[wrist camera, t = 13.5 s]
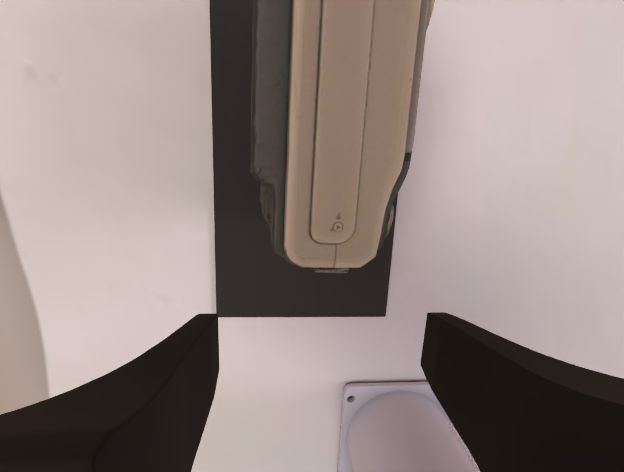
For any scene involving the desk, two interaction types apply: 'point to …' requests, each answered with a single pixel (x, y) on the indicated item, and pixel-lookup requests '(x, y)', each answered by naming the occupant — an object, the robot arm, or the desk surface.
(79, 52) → the desk surface
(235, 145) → the desk pad
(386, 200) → the camera
